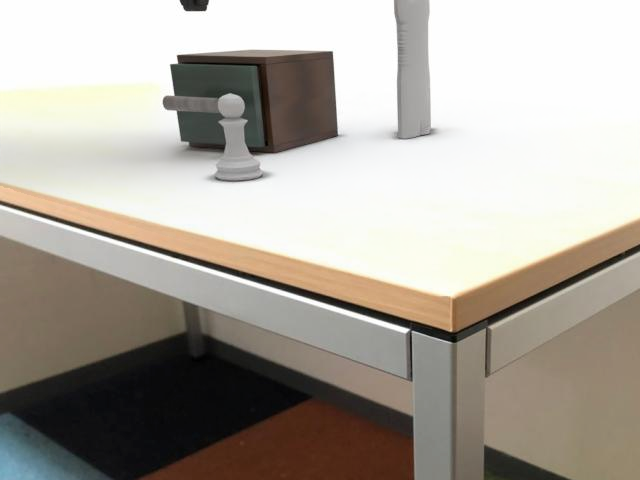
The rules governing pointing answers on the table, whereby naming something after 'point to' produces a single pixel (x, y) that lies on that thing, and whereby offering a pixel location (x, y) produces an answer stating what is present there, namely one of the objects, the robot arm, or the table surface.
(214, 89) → the drawer
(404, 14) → the tall pale column
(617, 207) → the table surface
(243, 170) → the chess piece
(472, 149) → the table surface
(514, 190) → the table surface
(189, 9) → the robot arm
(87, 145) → the table surface
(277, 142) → the cabinet
